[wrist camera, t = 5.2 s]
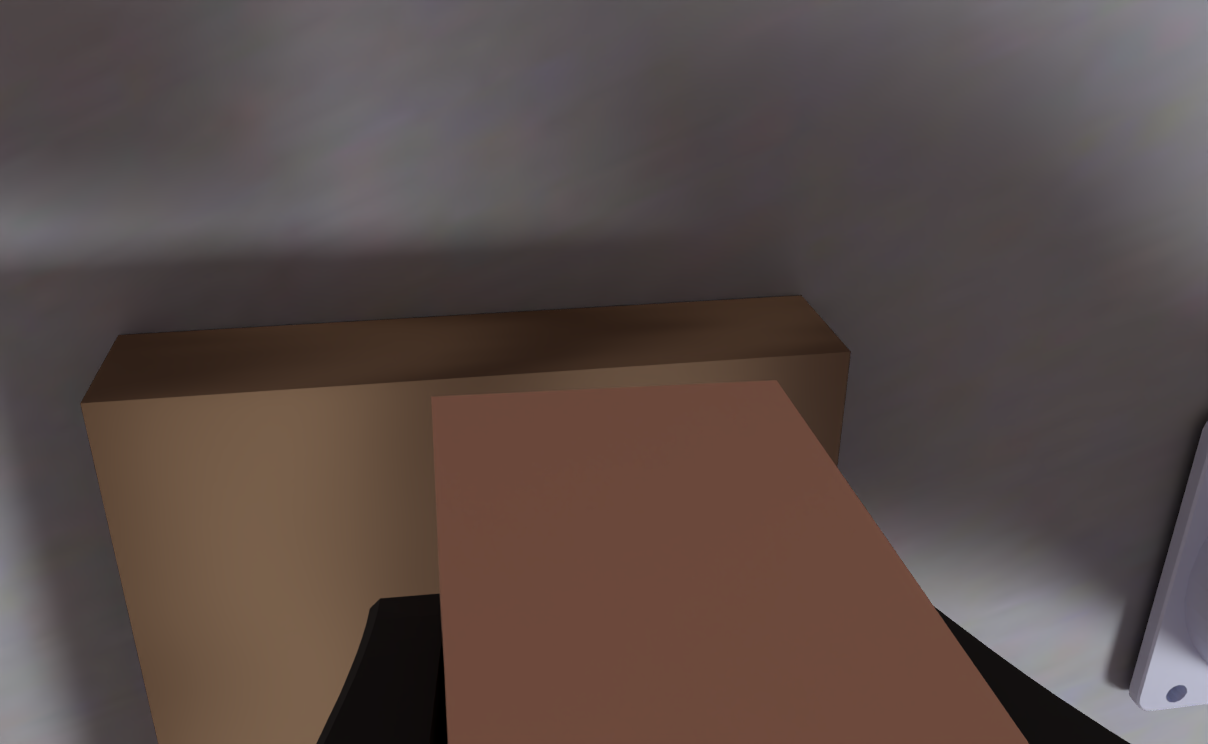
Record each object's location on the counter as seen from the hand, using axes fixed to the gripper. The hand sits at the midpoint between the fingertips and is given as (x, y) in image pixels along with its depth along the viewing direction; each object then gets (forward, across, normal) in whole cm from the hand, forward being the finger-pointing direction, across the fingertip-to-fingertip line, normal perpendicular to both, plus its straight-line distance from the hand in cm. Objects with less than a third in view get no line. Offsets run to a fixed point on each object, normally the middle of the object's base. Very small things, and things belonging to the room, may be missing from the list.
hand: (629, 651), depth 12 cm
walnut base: (+9, +1, +6) cm, 11 cm away
